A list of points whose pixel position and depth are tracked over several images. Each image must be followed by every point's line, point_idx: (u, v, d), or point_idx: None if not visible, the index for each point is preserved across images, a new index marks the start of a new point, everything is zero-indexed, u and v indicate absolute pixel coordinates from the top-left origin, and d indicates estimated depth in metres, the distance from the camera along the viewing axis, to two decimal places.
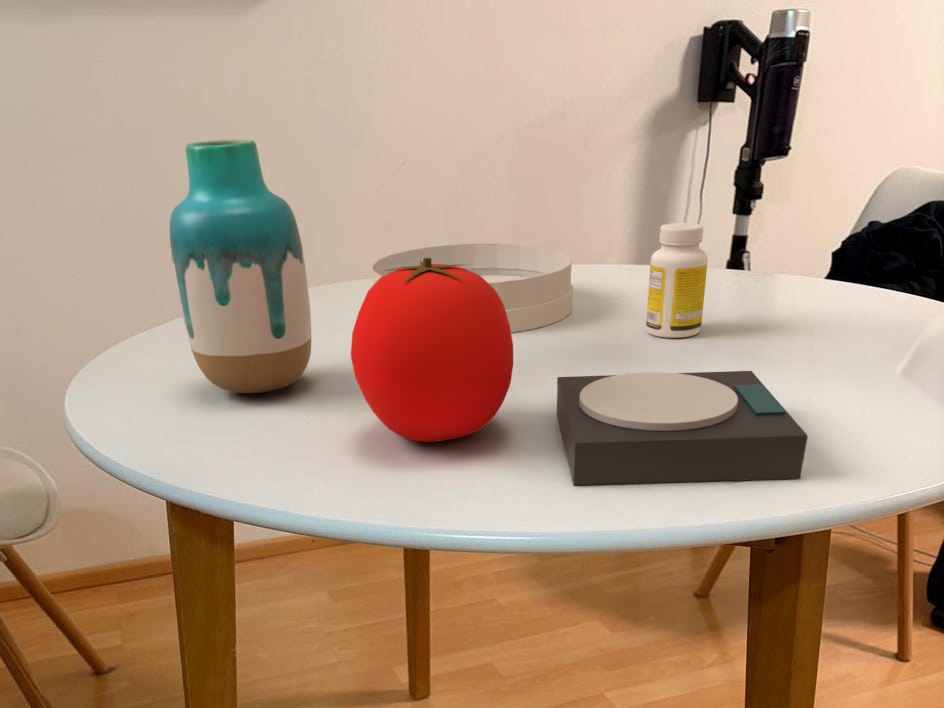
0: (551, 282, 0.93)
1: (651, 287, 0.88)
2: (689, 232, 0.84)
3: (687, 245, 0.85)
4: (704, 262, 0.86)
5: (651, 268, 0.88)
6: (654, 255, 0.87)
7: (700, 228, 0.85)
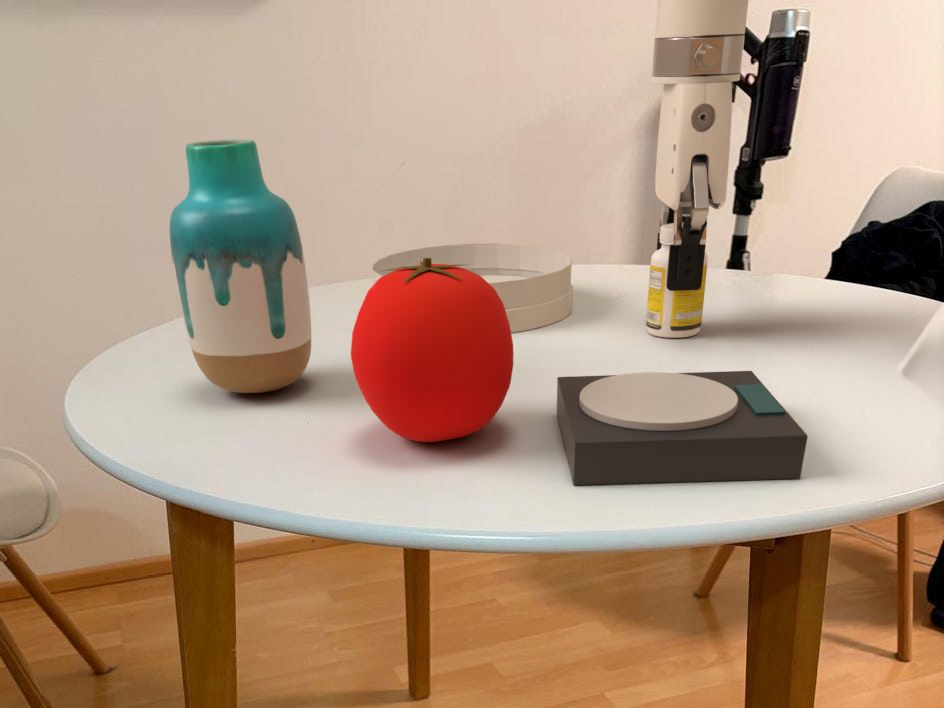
0: (551, 282, 0.93)
1: (650, 288, 0.88)
2: None
3: None
4: (704, 262, 0.86)
5: (651, 268, 0.88)
6: (654, 255, 0.87)
7: None
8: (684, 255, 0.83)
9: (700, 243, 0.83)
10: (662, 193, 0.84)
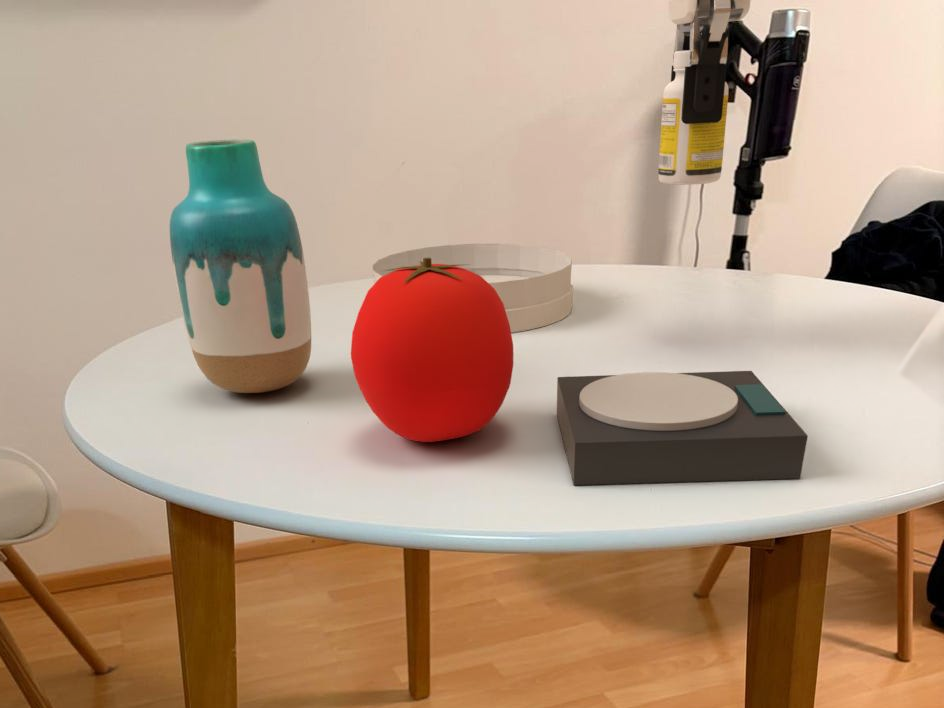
0: (551, 282, 0.93)
1: (663, 126, 0.77)
2: None
3: None
4: (725, 91, 0.75)
5: (664, 102, 0.77)
6: (667, 86, 0.76)
7: None
8: (702, 77, 0.72)
9: (720, 61, 0.72)
10: (676, 8, 0.73)
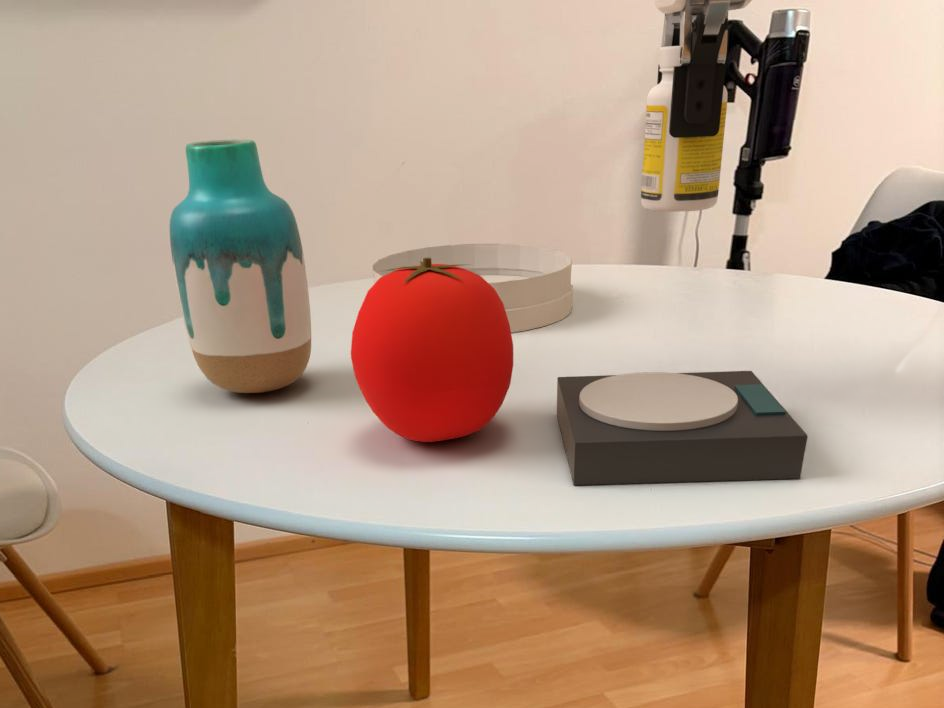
0: (551, 282, 0.93)
1: (647, 139, 0.63)
2: None
3: None
4: (723, 97, 0.60)
5: (647, 110, 0.62)
6: (651, 90, 0.61)
7: None
8: (695, 80, 0.58)
9: (718, 60, 0.57)
10: None
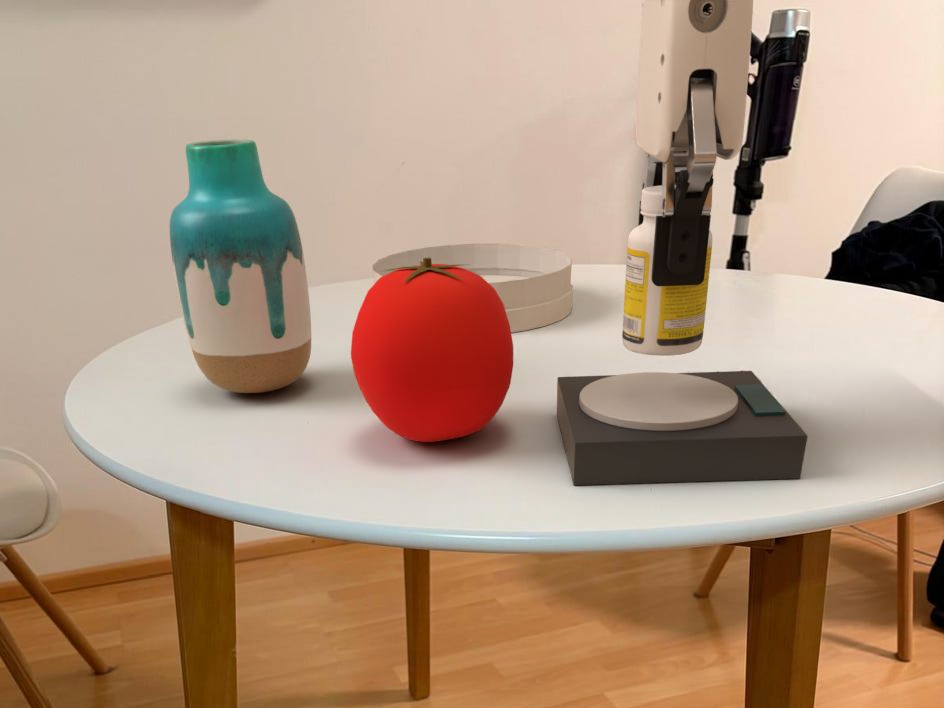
0: (551, 282, 0.93)
1: (628, 282, 0.59)
2: None
3: None
4: None
5: (628, 253, 0.59)
6: (633, 233, 0.58)
7: None
8: (678, 232, 0.55)
9: (702, 213, 0.54)
10: (645, 138, 0.55)
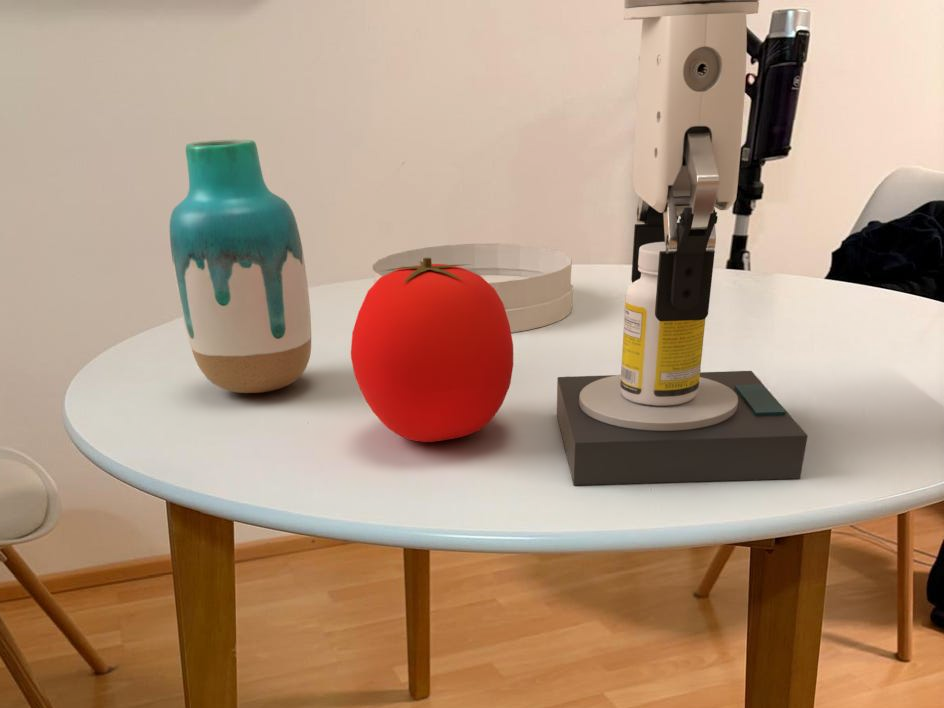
0: (551, 282, 0.93)
1: (626, 335, 0.61)
2: None
3: None
4: None
5: (626, 307, 0.61)
6: (630, 289, 0.60)
7: None
8: (682, 268, 0.54)
9: (707, 246, 0.53)
10: (642, 187, 0.57)
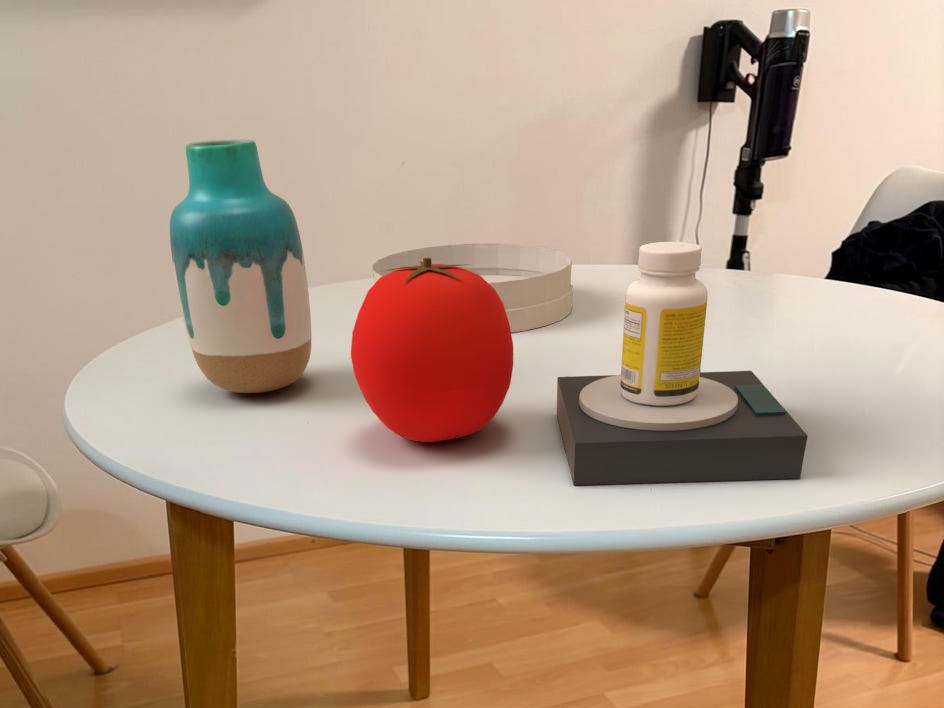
0: (551, 282, 0.93)
1: (626, 335, 0.61)
2: (681, 257, 0.57)
3: (678, 275, 0.58)
4: (703, 299, 0.59)
5: (626, 307, 0.61)
6: (630, 289, 0.60)
7: (697, 250, 0.58)
8: None
9: None
10: None
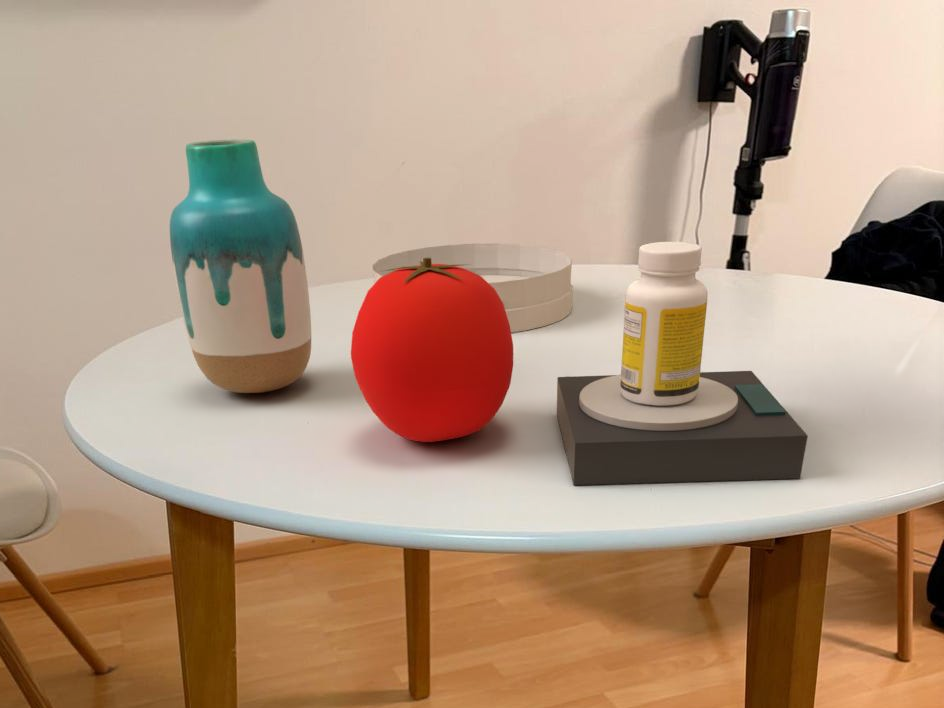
0: (551, 282, 0.93)
1: (626, 335, 0.61)
2: (681, 257, 0.57)
3: (678, 275, 0.58)
4: (703, 299, 0.59)
5: (626, 307, 0.61)
6: (630, 289, 0.60)
7: (697, 250, 0.58)
8: None
9: None
10: None
